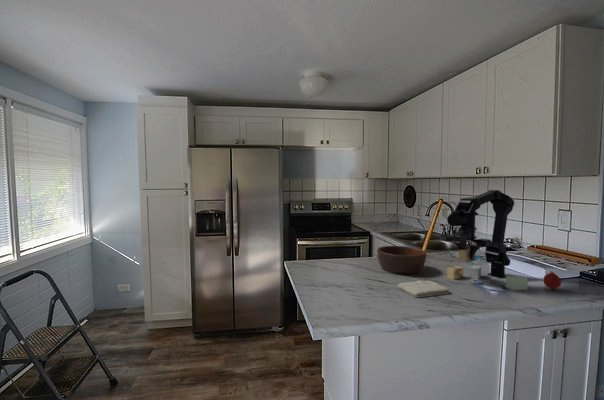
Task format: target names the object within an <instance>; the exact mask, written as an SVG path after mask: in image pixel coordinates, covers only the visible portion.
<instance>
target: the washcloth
mask: <svg viewBox="0 0 604 400" xmlns="http://www.w3.org/2000/svg"><path fill="white" fill-rule="evenodd" d="M397 288H398V289H399V290H400V291H402V292H405V293H406V294H407V295H410V296H411V297H414V298H416V299H417V298H425V297H432V296H439V295H447V294H449V295H450V292H449V291H450V289H449V287H446V286H444V285H440V284H438V283H436V281H435V282H434V281H431V280H420V279H419V280H416V281H407V282H401V283H399V284H397Z"/></svg>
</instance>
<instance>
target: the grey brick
mask: <svg viewBox="0 0 604 400" xmlns="http://www.w3.org/2000/svg"><path fill="white" fill-rule="evenodd" d="M481 276H482V266H480V265H475V264H473V265H472V266H470V268H469V279H473V280H479V278H480V277H481Z"/></svg>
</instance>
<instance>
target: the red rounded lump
mask: <svg viewBox="0 0 604 400" xmlns="http://www.w3.org/2000/svg"><path fill="white" fill-rule="evenodd" d="M543 284H544V285H545V286H546V287H547V288H548V289H549V290H551V291H552V290H555V289H558V288H560V287H561V285H562V280H561V278H560V277H559V276H558V275H557V274H556V273H555V272H554V271H550V272H549V273H547V274H546V275H544V277H543Z"/></svg>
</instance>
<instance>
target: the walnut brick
mask: <svg viewBox="0 0 604 400" xmlns="http://www.w3.org/2000/svg"><path fill="white" fill-rule="evenodd" d="M475 260H476V254H475V255H474V257H473V259H470V248H465V249H463V250H459V249H458V261H459V262H463V263H466V264H467V263H469V262H475Z"/></svg>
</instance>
